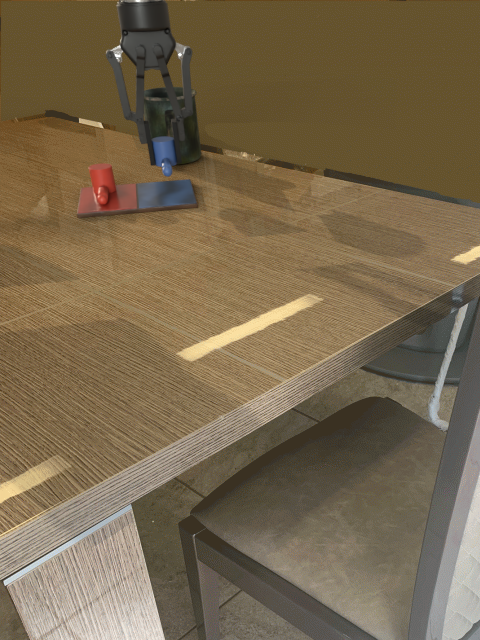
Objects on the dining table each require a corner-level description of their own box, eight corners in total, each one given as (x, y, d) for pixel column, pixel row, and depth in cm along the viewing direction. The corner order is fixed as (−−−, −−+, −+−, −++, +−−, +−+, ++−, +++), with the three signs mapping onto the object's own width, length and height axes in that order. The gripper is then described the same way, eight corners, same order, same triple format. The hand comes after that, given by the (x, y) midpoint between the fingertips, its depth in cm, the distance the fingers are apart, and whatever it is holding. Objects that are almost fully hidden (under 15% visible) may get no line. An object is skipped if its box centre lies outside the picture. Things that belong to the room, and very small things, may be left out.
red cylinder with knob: (115, 205, 104) (110, 179, 102) (91, 207, 104) (85, 181, 101) (116, 186, 112) (111, 162, 110) (94, 188, 111) (89, 164, 109)
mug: (202, 149, 134) (195, 85, 126) (206, 169, 122) (198, 100, 115) (149, 152, 132) (138, 88, 125) (148, 173, 121) (136, 103, 113)
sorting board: (77, 218, 102) (76, 213, 101) (81, 191, 112) (80, 187, 112) (197, 207, 105) (197, 203, 105) (190, 182, 116) (190, 178, 116)
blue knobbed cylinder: (180, 176, 104) (176, 150, 102) (156, 178, 104) (152, 152, 101) (176, 160, 112) (173, 135, 110) (154, 161, 111) (150, 137, 109)
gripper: (81, 2, 91) (115, 172, 106) (200, -1, 95) (217, 164, 109) (84, -1, 97) (115, 160, 112) (195, -5, 100) (212, 152, 115)
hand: (166, 161), depth 110 cm, fingers closed on blue knobbed cylinder, 4 cm apart
